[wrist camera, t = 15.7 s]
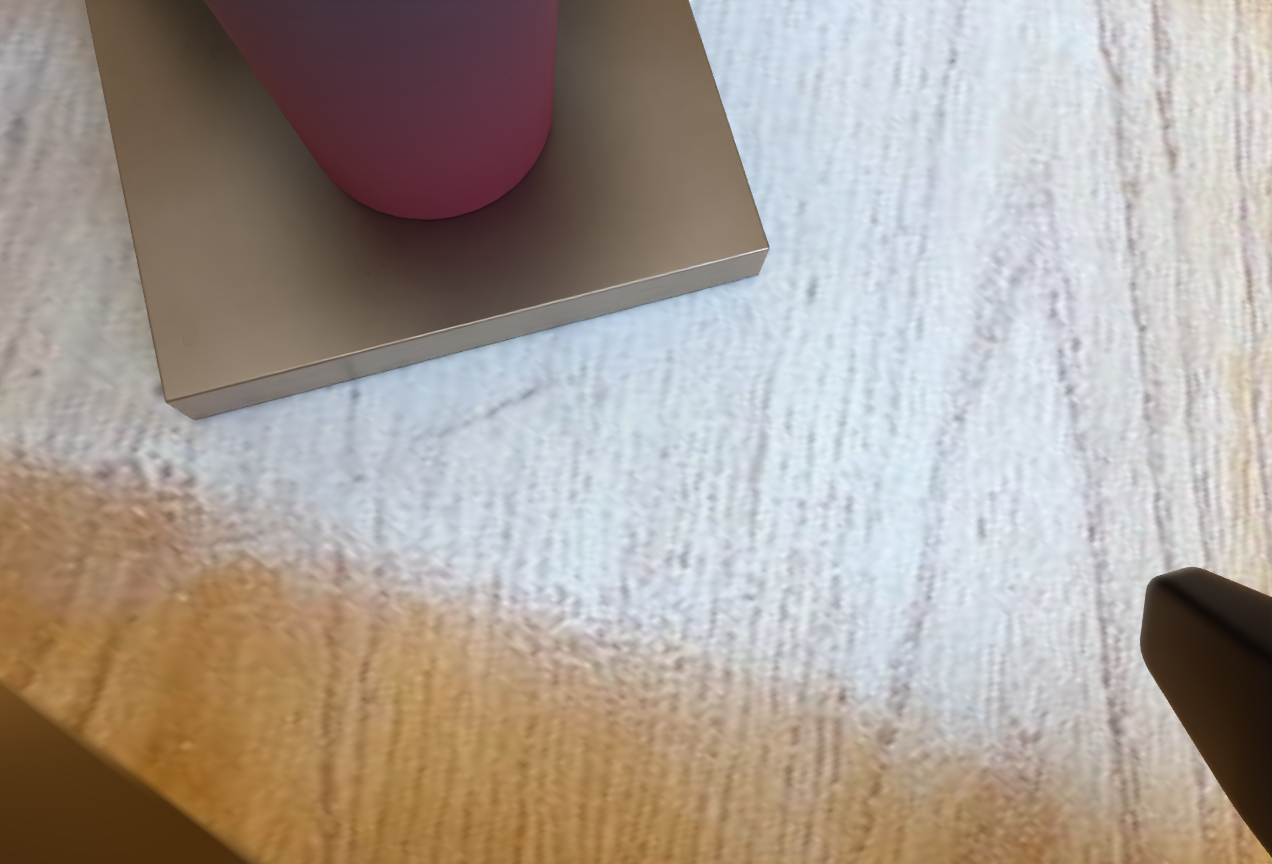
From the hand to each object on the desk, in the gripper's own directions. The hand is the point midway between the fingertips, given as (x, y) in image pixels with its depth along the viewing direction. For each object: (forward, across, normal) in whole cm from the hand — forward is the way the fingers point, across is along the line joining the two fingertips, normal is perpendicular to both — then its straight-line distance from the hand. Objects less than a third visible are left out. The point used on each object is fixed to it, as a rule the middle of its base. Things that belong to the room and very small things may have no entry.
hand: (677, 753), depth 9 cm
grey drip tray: (+17, +1, -1) cm, 17 cm away
